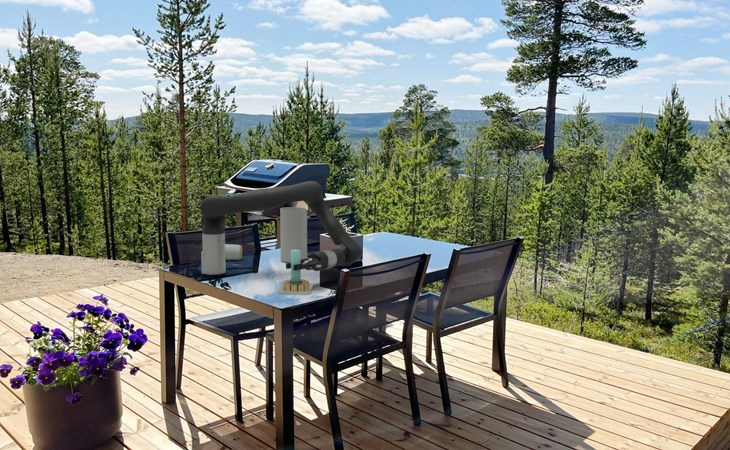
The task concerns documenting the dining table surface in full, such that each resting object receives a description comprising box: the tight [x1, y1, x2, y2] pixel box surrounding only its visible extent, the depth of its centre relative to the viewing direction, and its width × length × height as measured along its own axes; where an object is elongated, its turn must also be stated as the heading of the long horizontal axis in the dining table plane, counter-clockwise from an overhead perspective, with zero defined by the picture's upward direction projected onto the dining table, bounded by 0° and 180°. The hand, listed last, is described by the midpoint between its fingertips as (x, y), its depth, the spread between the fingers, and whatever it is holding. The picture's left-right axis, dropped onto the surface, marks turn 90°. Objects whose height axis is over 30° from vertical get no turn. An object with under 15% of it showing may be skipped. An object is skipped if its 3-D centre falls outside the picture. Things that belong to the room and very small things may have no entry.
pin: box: [290, 250, 302, 284], centre depth 207 cm, size 4×4×14 cm
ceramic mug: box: [225, 243, 243, 261], centre depth 262 cm, size 11×8×8 cm
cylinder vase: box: [279, 206, 308, 263], centre depth 259 cm, size 12×12×25 cm
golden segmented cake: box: [276, 278, 315, 296], centre depth 208 cm, size 12×13×3 cm
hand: (290, 267), depth 205 cm, fingers closed on pin, 3 cm apart
